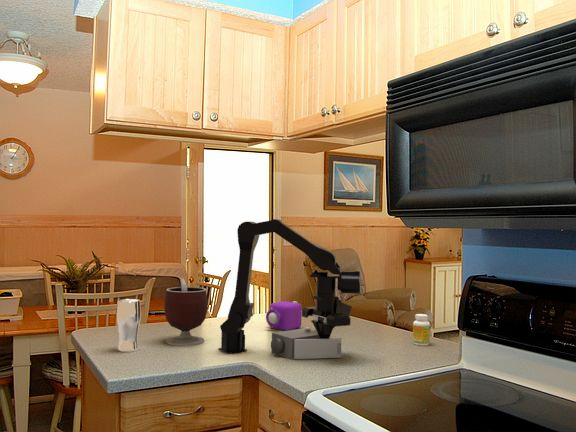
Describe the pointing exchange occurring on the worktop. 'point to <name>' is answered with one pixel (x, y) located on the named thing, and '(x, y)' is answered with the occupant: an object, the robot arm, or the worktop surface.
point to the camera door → (317, 348)
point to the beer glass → (128, 324)
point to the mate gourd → (185, 312)
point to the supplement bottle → (421, 330)
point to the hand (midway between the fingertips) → (324, 345)
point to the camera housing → (290, 340)
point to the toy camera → (284, 315)
